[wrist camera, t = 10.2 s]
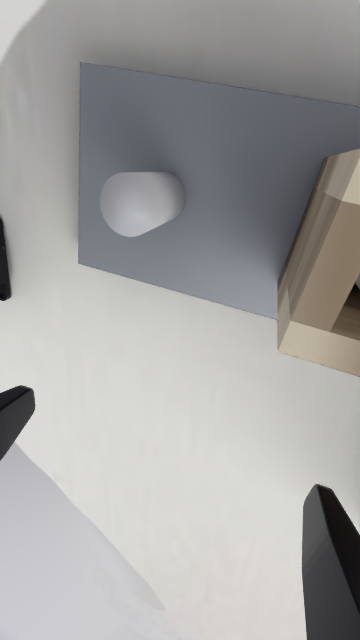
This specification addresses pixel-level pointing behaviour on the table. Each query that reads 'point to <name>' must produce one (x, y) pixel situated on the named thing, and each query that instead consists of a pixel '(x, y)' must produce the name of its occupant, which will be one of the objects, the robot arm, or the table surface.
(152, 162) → the pin board
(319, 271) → the sleeve
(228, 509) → the table surface
